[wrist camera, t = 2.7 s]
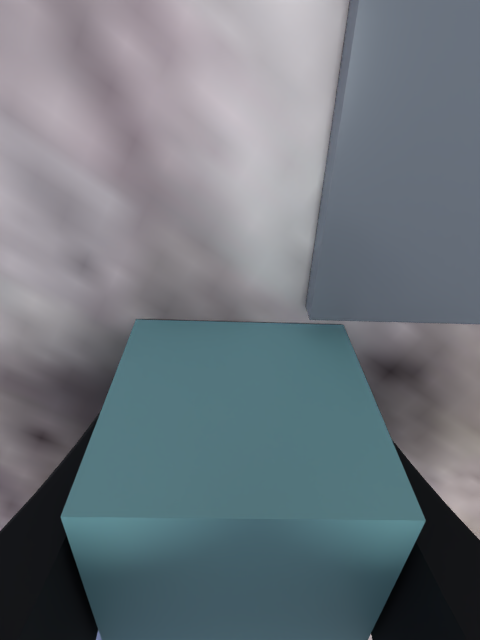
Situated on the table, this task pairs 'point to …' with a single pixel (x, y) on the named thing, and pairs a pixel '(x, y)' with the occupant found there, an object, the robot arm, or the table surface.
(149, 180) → the table surface
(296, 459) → the teal cube
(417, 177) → the slate coaster
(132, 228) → the table surface
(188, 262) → the table surface
